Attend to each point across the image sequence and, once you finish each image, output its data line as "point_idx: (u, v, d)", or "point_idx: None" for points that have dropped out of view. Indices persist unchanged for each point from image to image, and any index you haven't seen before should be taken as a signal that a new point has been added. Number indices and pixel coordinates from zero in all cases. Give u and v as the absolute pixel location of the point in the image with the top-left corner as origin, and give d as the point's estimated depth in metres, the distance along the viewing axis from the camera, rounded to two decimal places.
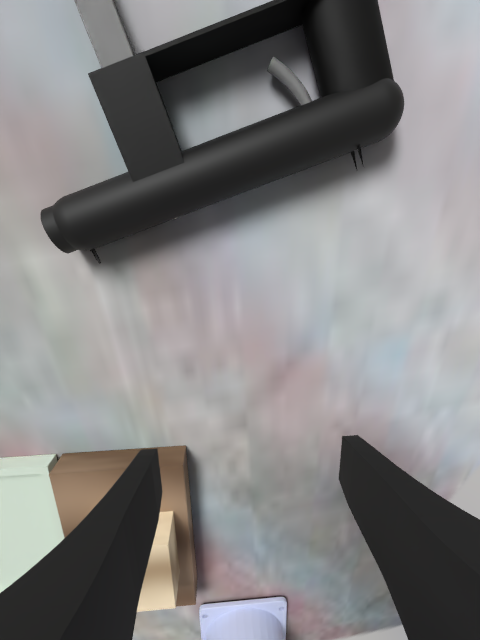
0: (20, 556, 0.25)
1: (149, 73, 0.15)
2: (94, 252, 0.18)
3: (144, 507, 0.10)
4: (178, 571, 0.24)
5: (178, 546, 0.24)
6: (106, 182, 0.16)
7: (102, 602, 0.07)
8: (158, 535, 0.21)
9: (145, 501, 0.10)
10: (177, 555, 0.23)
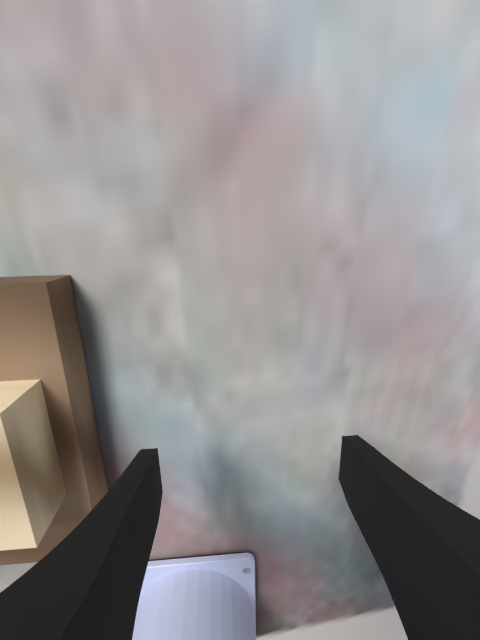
0: None
1: None
2: None
3: (144, 507, 0.10)
4: (60, 493, 0.14)
5: (58, 449, 0.14)
6: None
7: (102, 602, 0.07)
8: None
9: (145, 501, 0.10)
10: (56, 464, 0.14)
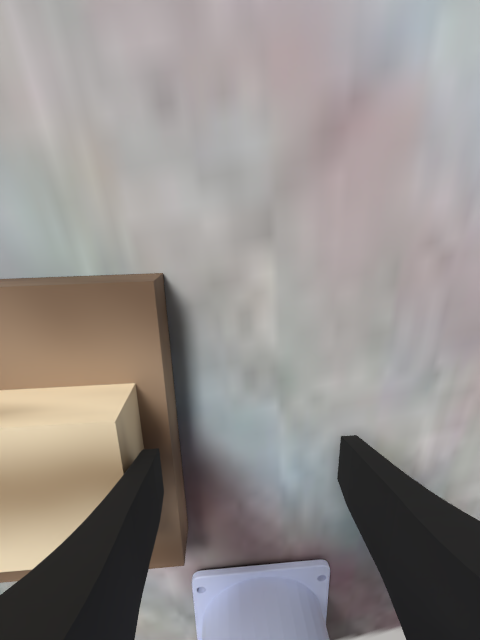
0: None
1: None
2: None
3: (147, 506, 0.10)
4: None
5: None
6: None
7: (105, 601, 0.07)
8: (99, 409, 0.10)
9: (147, 501, 0.10)
10: None
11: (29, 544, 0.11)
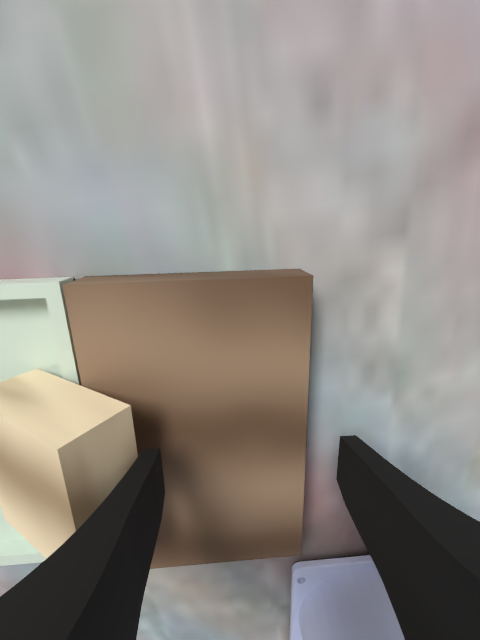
0: None
1: None
2: None
3: (148, 506, 0.10)
4: None
5: (285, 446, 0.14)
6: None
7: (107, 601, 0.07)
8: (67, 426, 0.09)
9: (148, 501, 0.10)
10: None
11: (27, 523, 0.12)
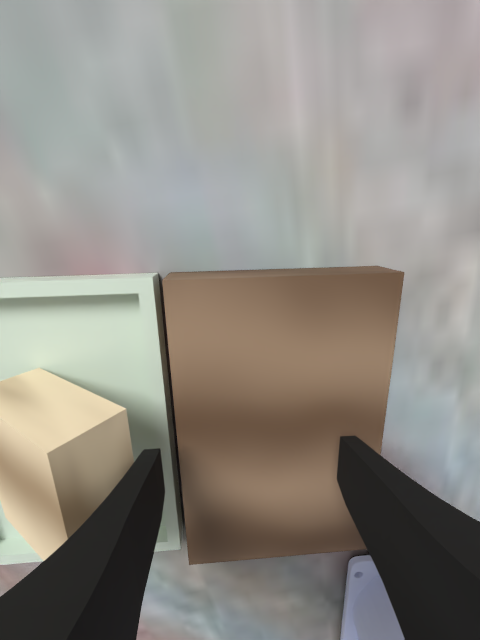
0: None
1: None
2: None
3: (148, 506, 0.10)
4: None
5: None
6: None
7: (107, 601, 0.07)
8: (60, 429, 0.09)
9: (148, 501, 0.10)
10: None
11: (25, 523, 0.12)
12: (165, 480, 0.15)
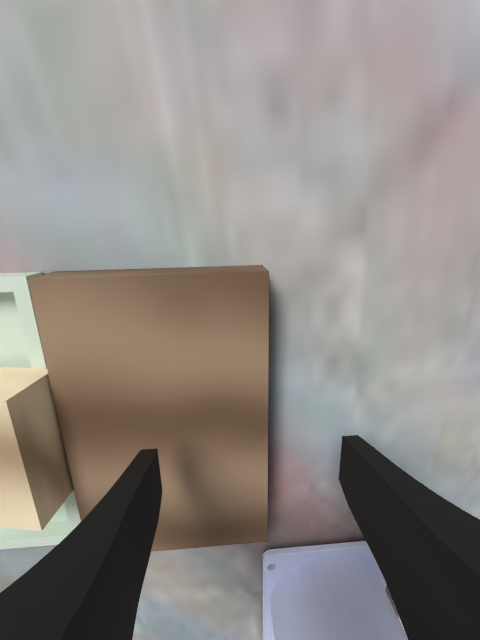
0: None
1: None
2: None
3: (144, 507, 0.10)
4: (71, 480, 0.14)
5: (248, 436, 0.14)
6: None
7: (102, 602, 0.07)
8: (3, 389, 0.11)
9: (145, 501, 0.10)
10: None
11: None
12: None
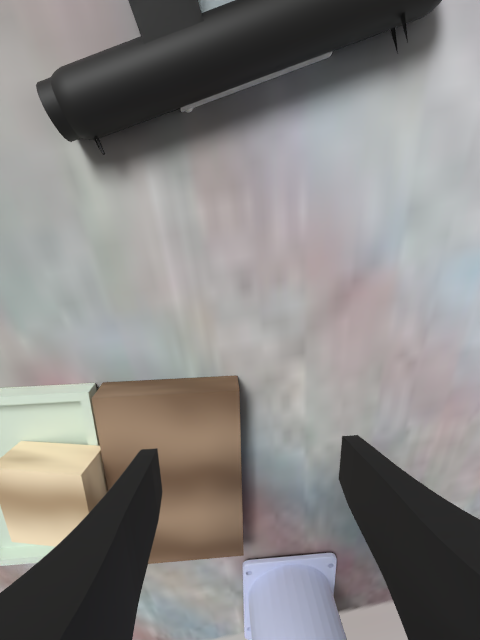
0: None
1: None
2: (97, 141, 0.15)
3: (145, 506, 0.10)
4: None
5: (228, 487, 0.21)
6: (113, 47, 0.14)
7: (102, 602, 0.07)
8: (76, 464, 0.19)
9: (145, 501, 0.10)
10: None
11: (41, 531, 0.20)
12: None
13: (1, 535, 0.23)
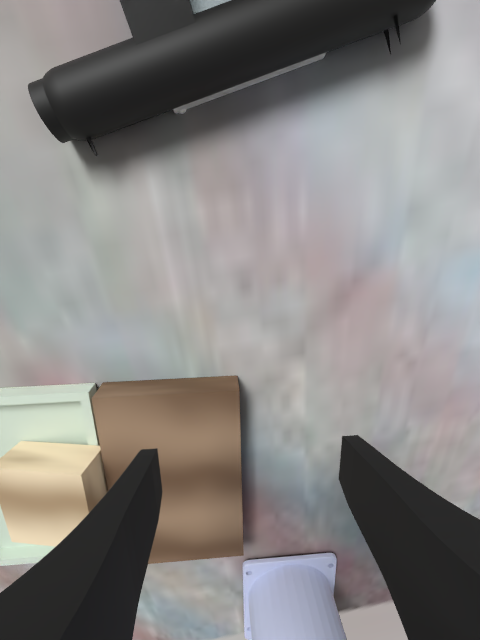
0: None
1: None
2: (90, 142, 0.15)
3: (145, 506, 0.10)
4: None
5: (228, 487, 0.21)
6: (105, 48, 0.14)
7: (102, 602, 0.07)
8: (76, 464, 0.19)
9: (145, 501, 0.10)
10: None
11: (41, 531, 0.20)
12: None
13: (1, 535, 0.23)
